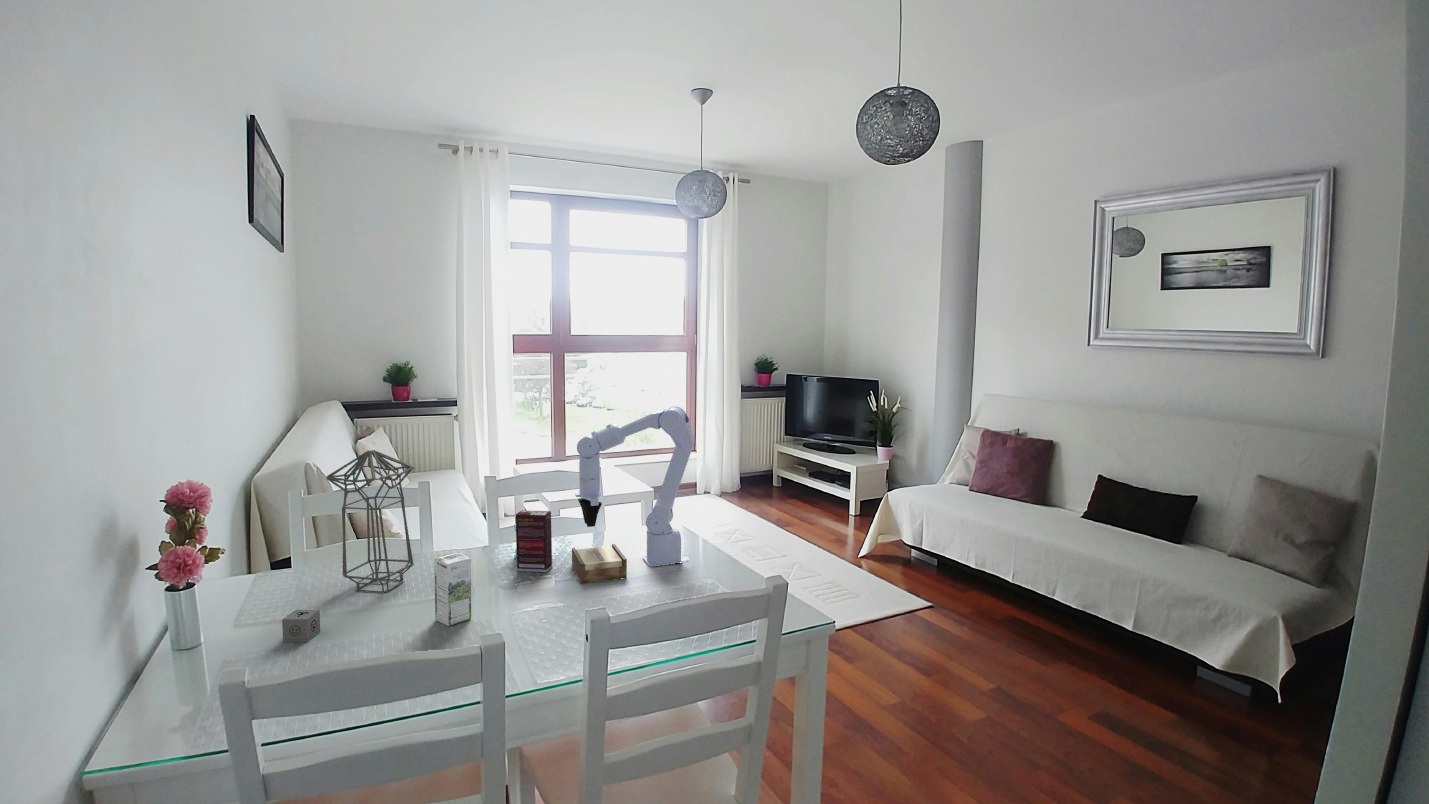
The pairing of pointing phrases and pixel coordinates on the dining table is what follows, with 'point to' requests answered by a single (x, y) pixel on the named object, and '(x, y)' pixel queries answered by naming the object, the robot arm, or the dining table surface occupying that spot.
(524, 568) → the supplement box
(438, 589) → the syrup box
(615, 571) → the box
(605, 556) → the lid
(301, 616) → the dice cube
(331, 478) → the geometric lantern
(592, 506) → the robot arm
